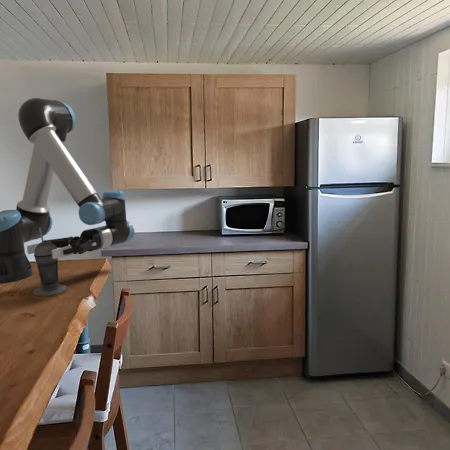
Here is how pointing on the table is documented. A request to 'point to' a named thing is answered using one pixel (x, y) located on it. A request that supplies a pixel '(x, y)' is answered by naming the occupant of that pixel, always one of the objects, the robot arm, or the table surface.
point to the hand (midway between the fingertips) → (39, 252)
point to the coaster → (40, 291)
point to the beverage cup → (46, 264)
